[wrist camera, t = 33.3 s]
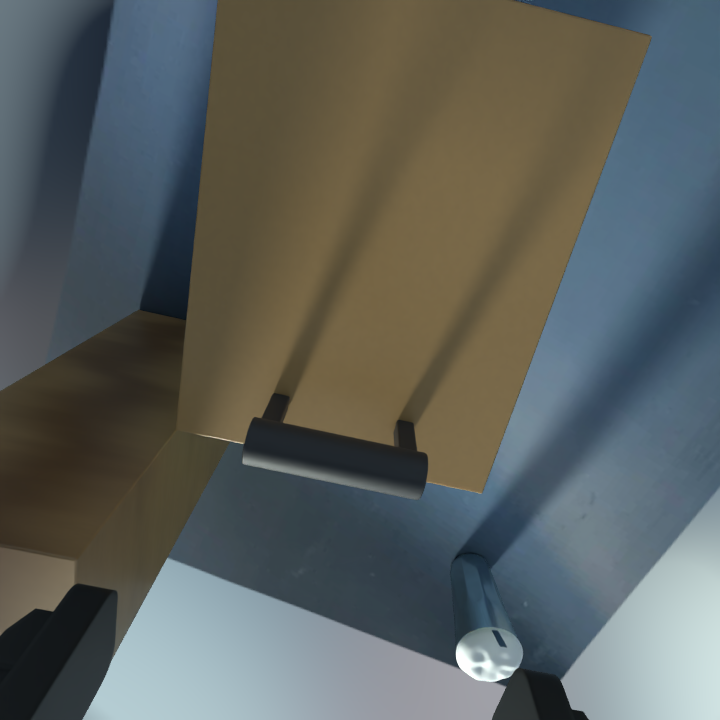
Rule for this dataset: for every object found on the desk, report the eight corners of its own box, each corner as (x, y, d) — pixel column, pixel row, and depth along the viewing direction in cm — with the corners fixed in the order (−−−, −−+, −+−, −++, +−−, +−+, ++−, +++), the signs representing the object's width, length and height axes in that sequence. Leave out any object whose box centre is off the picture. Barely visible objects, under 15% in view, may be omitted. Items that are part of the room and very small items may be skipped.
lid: (478, 483, 22) (505, 565, 17) (181, 421, 21) (129, 489, 17) (641, 41, 16) (745, -9, 11) (231, -64, 15) (170, -162, 11)
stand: (132, 409, 38) (-159, 692, 17) (138, 309, 35) (-200, 506, 15) (236, 430, 38) (72, 733, 18) (250, 333, 35) (76, 559, 15)
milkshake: (502, 541, 41) (539, 650, 32) (491, 590, 43) (522, 707, 34) (447, 536, 41) (468, 643, 32) (438, 585, 43) (455, 701, 34)
